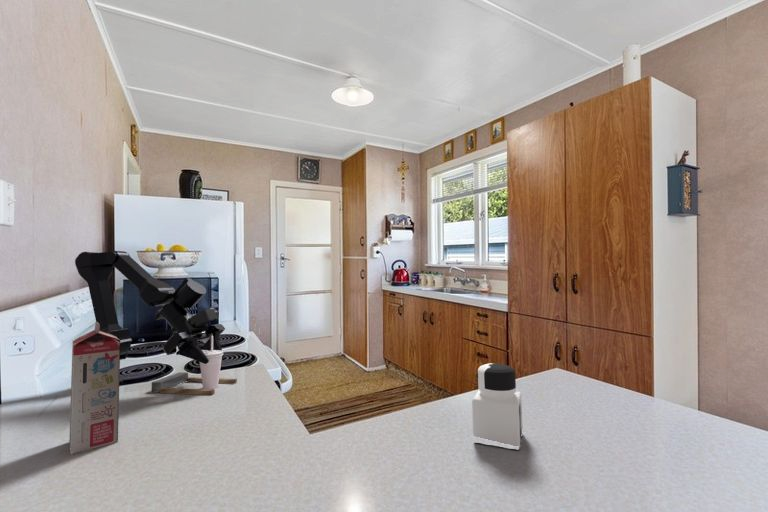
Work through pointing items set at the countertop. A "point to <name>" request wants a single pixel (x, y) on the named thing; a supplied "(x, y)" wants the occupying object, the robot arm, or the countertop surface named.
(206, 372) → the smoothie
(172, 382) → the guide track
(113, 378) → the juice carton
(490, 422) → the container
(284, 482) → the countertop surface
